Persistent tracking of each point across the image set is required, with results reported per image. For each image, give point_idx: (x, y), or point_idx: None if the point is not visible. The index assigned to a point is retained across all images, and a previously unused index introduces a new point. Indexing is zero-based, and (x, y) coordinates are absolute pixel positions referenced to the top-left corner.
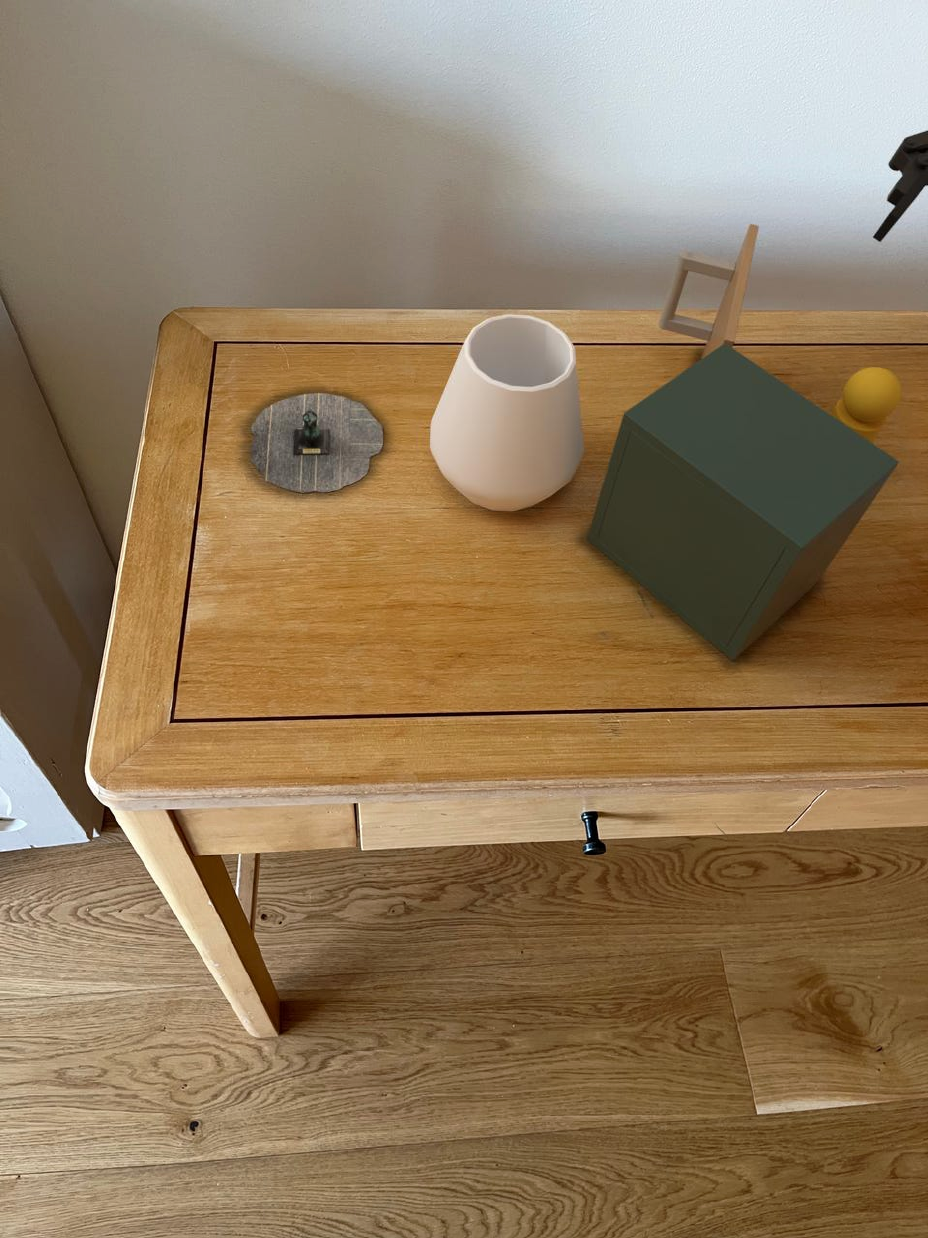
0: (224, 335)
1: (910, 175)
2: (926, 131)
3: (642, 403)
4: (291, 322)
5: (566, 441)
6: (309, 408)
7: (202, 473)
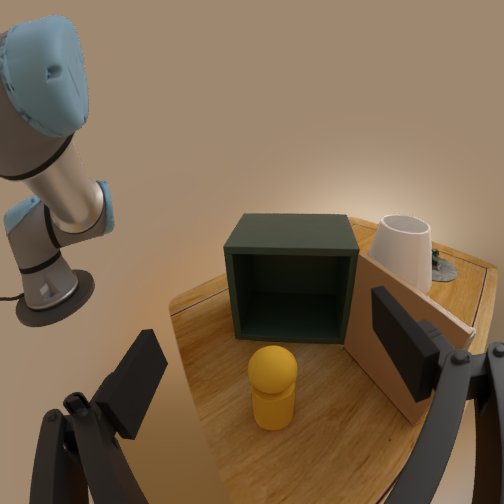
0: (490, 271)
1: (438, 342)
2: None
3: (346, 218)
4: (494, 285)
5: (370, 256)
6: (450, 271)
7: (431, 248)
